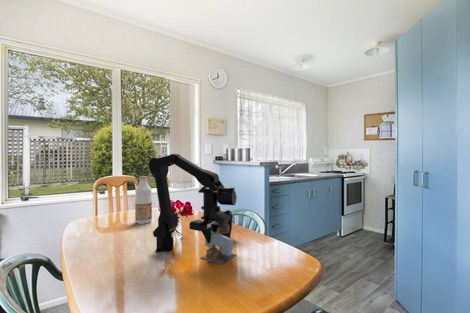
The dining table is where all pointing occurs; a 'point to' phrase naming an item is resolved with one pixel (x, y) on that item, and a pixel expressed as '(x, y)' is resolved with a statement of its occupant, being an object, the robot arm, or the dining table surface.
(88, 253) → the dining table surface
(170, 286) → the dining table surface
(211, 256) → the slotted base
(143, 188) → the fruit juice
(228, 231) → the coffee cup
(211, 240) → the pale blue slat
